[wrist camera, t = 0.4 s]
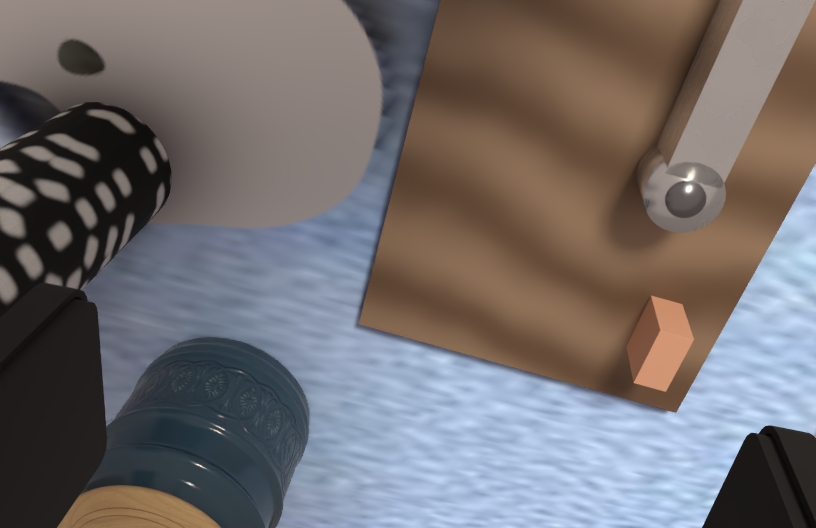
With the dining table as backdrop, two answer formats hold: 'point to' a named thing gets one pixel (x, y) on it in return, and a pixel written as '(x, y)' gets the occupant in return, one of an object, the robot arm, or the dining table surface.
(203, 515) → the canister
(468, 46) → the brown wooden board
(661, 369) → the block
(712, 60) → the bar
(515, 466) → the dining table surface
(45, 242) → the white-spotted black cylinder
